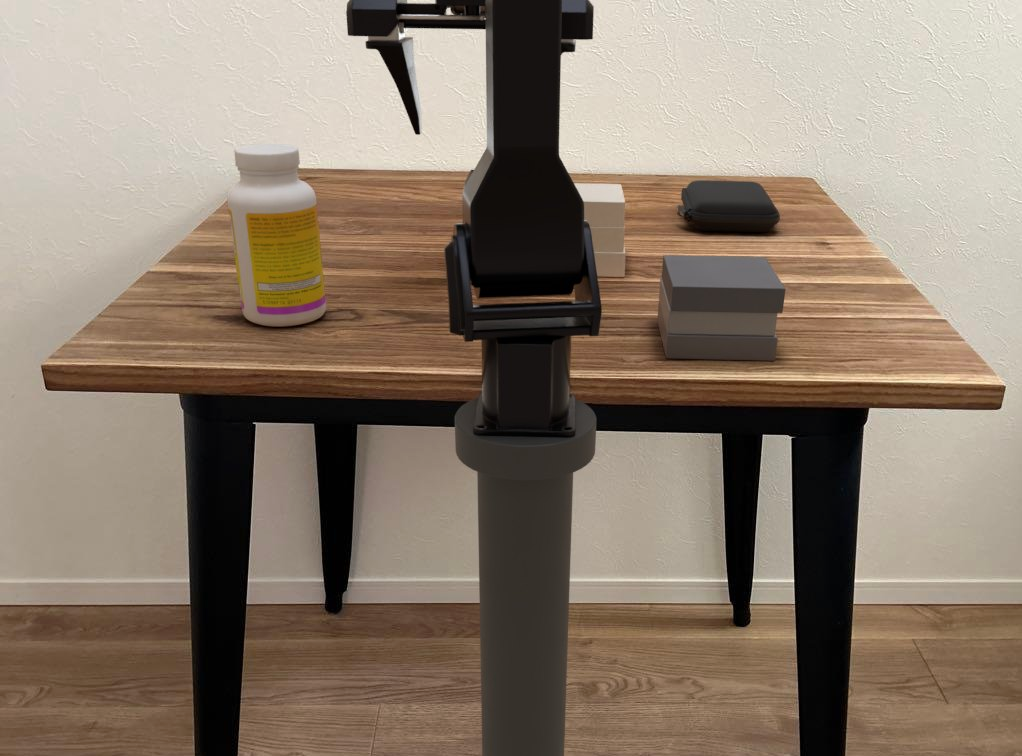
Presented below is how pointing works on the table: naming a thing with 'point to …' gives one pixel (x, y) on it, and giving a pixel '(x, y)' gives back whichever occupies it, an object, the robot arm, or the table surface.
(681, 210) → the carrying case
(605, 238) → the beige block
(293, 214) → the supplement bottle
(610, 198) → the beige rectangular block
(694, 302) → the grey lidded box
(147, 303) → the table surface
